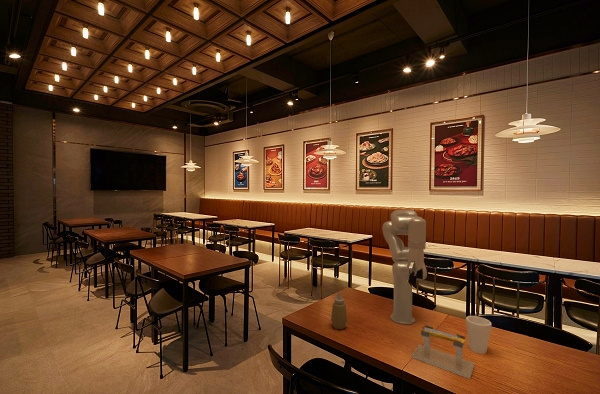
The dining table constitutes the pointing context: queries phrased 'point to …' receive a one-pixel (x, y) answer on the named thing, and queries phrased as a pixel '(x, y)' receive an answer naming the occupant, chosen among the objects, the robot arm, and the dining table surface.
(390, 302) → the dining table surface
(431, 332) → the candy bar
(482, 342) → the foam cup
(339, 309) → the squeeze bottle
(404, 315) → the robot arm
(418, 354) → the hook stand
